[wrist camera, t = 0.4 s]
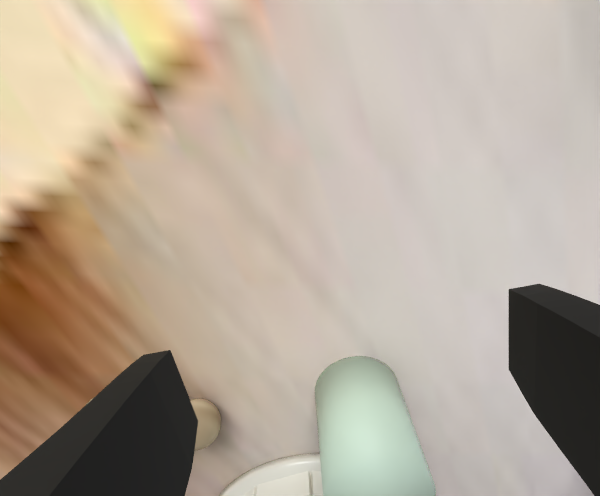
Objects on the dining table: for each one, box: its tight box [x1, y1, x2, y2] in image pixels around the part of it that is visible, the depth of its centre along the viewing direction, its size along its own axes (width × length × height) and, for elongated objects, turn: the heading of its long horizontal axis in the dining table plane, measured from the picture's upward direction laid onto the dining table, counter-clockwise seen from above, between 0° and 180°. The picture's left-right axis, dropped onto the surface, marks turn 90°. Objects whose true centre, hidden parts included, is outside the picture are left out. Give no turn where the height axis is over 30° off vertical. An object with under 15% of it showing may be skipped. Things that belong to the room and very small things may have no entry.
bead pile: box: [86, 399, 221, 451], centre depth 20 cm, size 6×5×2 cm
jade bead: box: [315, 356, 436, 496], centre depth 19 cm, size 4×4×6 cm
